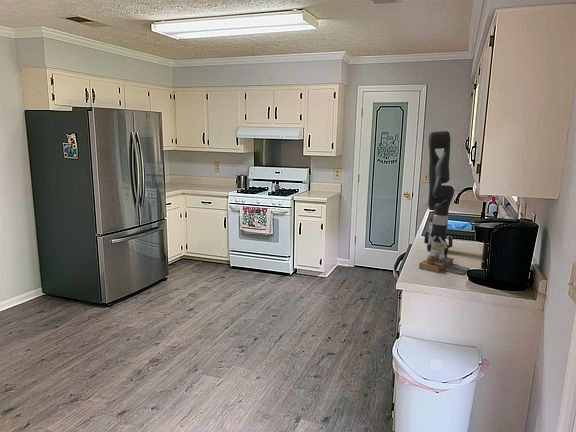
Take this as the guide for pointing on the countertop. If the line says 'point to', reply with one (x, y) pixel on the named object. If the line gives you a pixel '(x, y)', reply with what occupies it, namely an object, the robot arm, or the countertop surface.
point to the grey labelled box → (438, 253)
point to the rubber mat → (457, 269)
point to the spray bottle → (484, 256)
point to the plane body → (435, 263)
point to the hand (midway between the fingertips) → (437, 253)
